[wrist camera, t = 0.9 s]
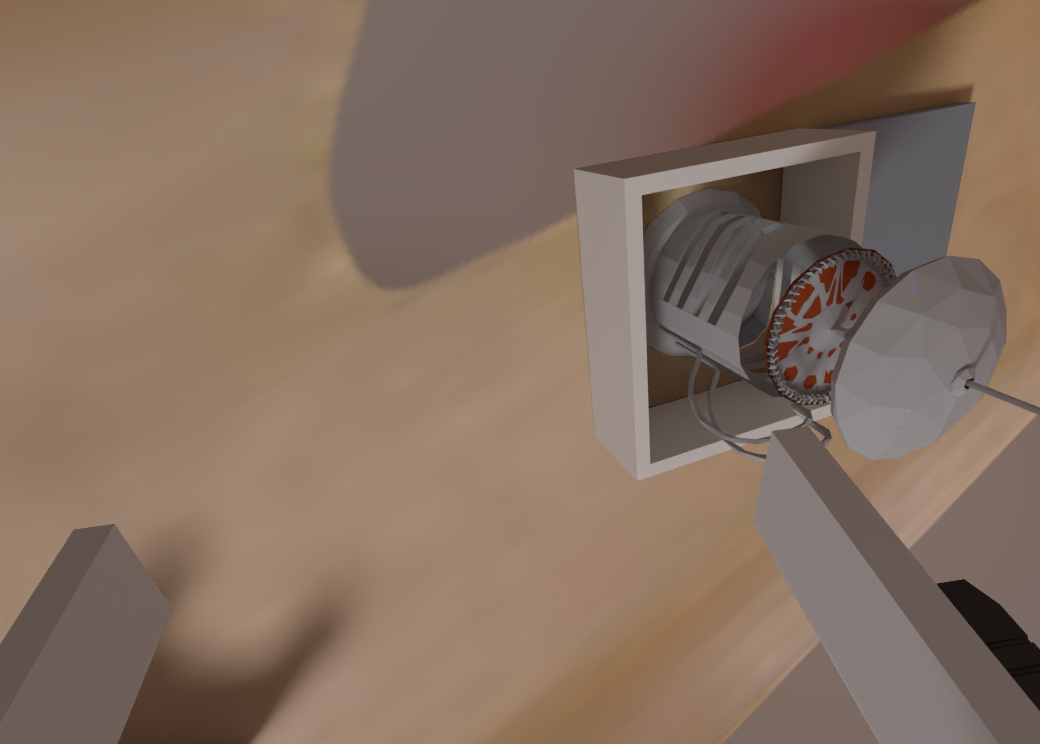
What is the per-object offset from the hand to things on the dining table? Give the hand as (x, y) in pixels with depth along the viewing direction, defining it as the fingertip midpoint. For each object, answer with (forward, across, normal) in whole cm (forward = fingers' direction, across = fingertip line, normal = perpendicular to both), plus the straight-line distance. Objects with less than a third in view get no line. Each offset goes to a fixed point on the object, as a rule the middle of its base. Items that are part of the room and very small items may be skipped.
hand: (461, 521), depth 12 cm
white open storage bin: (+21, +13, -7) cm, 26 cm away
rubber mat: (+24, +26, -6) cm, 36 cm away
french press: (+21, +13, -7) cm, 26 cm away
